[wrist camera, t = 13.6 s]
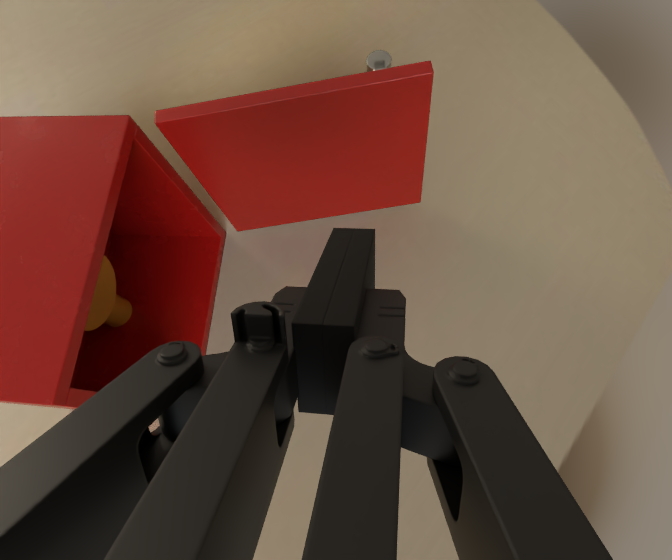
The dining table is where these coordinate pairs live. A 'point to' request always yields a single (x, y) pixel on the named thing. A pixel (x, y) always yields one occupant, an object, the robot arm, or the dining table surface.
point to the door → (310, 145)
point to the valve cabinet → (95, 256)
